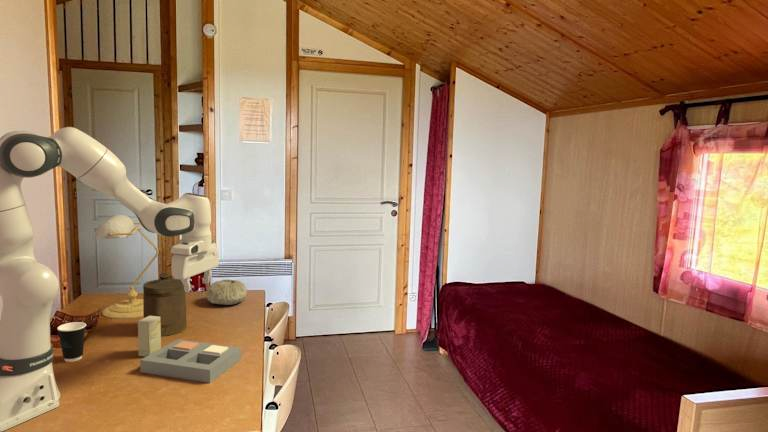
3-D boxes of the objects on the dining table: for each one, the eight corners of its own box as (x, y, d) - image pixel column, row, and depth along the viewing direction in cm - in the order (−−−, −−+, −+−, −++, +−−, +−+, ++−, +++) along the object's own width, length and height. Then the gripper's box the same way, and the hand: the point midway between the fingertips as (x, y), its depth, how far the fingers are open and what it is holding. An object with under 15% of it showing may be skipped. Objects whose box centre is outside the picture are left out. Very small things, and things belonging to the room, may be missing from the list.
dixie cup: (88, 352, 164) (86, 320, 163) (87, 361, 157) (85, 328, 156) (59, 356, 160) (58, 323, 159) (57, 365, 153) (55, 331, 152)
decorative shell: (233, 310, 212) (233, 288, 211) (197, 306, 216) (197, 284, 215) (253, 299, 229) (253, 278, 228) (219, 295, 233) (219, 275, 232)
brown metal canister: (170, 320, 197) (169, 267, 195) (194, 328, 190) (193, 272, 187) (135, 330, 185) (133, 274, 182) (160, 339, 177) (158, 280, 175)
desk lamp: (107, 301, 219) (104, 212, 214) (163, 298, 226) (162, 212, 222) (92, 324, 190) (88, 222, 185) (157, 319, 198) (155, 221, 193)
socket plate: (210, 382, 145) (209, 368, 145) (140, 372, 151) (140, 358, 150) (241, 359, 163) (241, 346, 162) (177, 350, 168) (177, 337, 167)
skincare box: (149, 357, 161) (148, 322, 160) (137, 356, 162) (136, 320, 161) (162, 350, 167) (161, 316, 166) (150, 349, 168) (149, 315, 167)
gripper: (206, 238, 166) (207, 278, 167) (167, 249, 146) (167, 294, 147) (223, 239, 164) (223, 280, 166) (185, 250, 144) (186, 296, 146)
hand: (197, 286), depth 157 cm, fingers open, 8 cm apart
